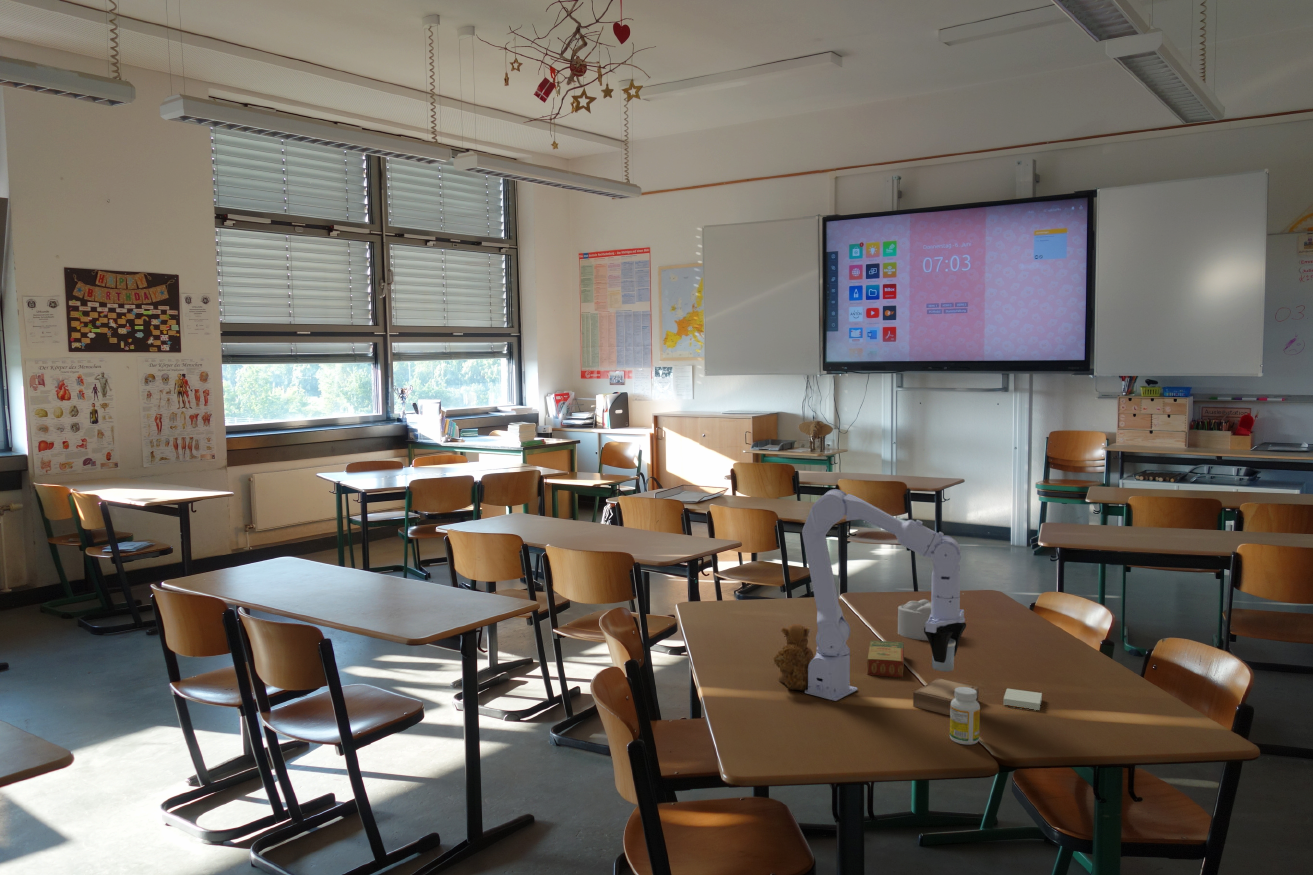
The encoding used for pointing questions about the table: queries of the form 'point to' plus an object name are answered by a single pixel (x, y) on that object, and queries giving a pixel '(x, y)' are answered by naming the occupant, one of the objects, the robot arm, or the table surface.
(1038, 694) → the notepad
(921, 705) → the box
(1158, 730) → the table surface
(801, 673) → the brown teddy bear
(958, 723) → the supplement bottle
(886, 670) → the carton
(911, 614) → the lumpy-topped squat cylinder
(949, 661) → the cup
